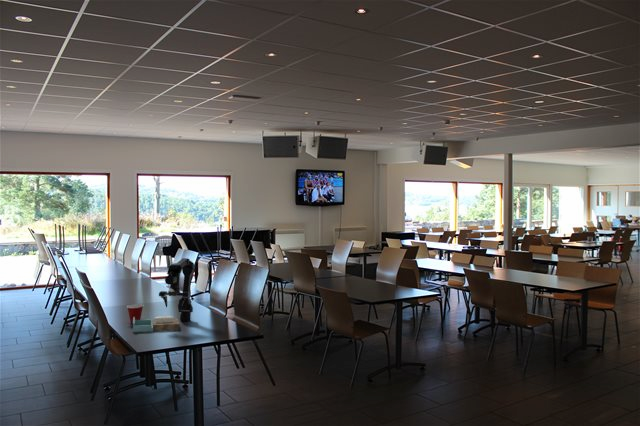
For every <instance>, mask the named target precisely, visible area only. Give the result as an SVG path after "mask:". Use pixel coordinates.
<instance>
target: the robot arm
mask: <svg viewBox="0 0 640 426" xmlns="http://www.w3.org/2000/svg"><path fill="white" fill-rule="evenodd" d="M195 269H196V266H195V263H194V262H193V261H192V260H190V258H189V257H188V258H186V257H185V258H184V257H183V258H181V259H180V260H179V261H178V262H173V263H171V264H169V266H168V270H167V272H166V275H167V276H165V278H164V282H165V284H166V285H169V289H168V291H165V290H161V291H159V292H158V297H160V298H162V300H163V302H164V304H165V305H164V306H165V307H166V308H168V297H177V296H180V297H181V298H180V299H179V301H178V304H177V308H178V310H177V311H178V313H179V321H180V322H181V323H182V322H183V323H184V322H191V313H193V312H194V307H193V305H192V300H191V299H190V296H191V292H190V291H191V280H192V275H193V274H194V273H195ZM181 274H183V284H182V292H181V288H180V280H181V279H180V278H181Z"/></svg>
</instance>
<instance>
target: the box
mask: <svg viewBox="0 0 640 426" xmlns="http://www.w3.org/2000/svg"><path fill="white" fill-rule="evenodd" d="M152 332H154V331H153V322H152V319H151V318H149V319H140V320H135V317H133V324H132V333H133V334H134V333H152Z"/></svg>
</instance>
